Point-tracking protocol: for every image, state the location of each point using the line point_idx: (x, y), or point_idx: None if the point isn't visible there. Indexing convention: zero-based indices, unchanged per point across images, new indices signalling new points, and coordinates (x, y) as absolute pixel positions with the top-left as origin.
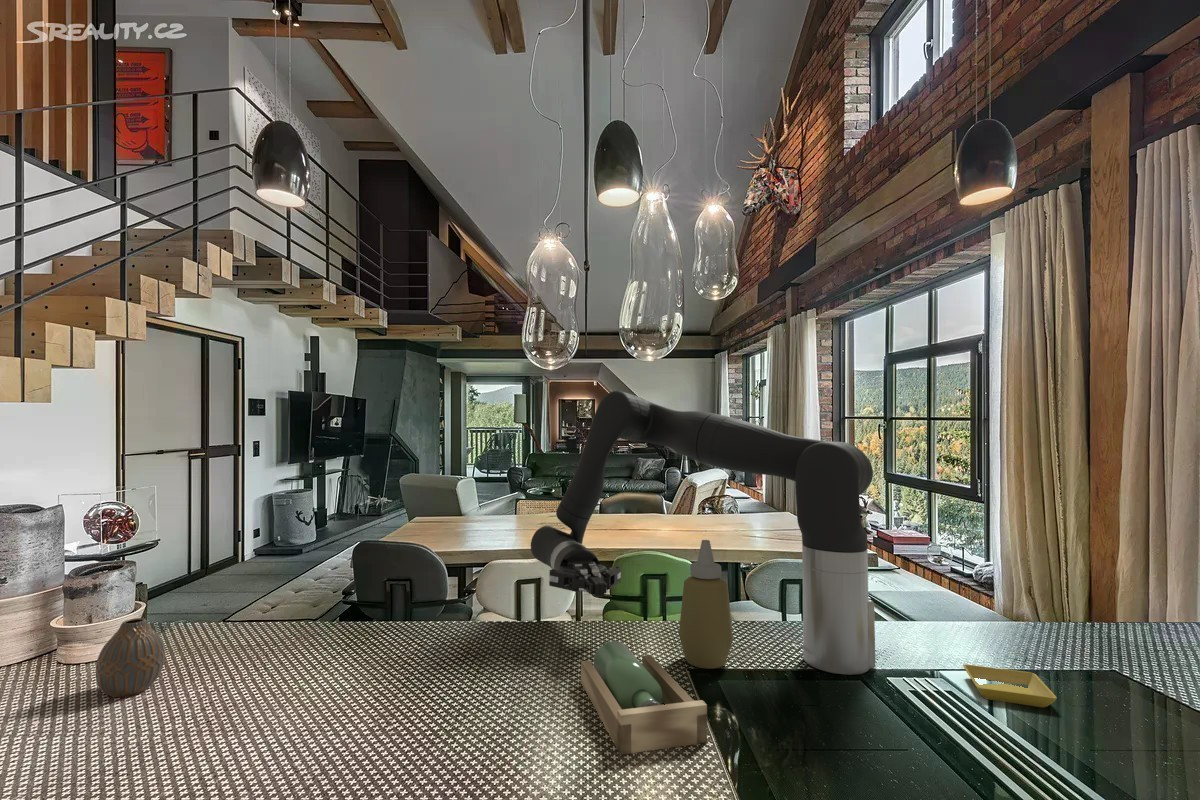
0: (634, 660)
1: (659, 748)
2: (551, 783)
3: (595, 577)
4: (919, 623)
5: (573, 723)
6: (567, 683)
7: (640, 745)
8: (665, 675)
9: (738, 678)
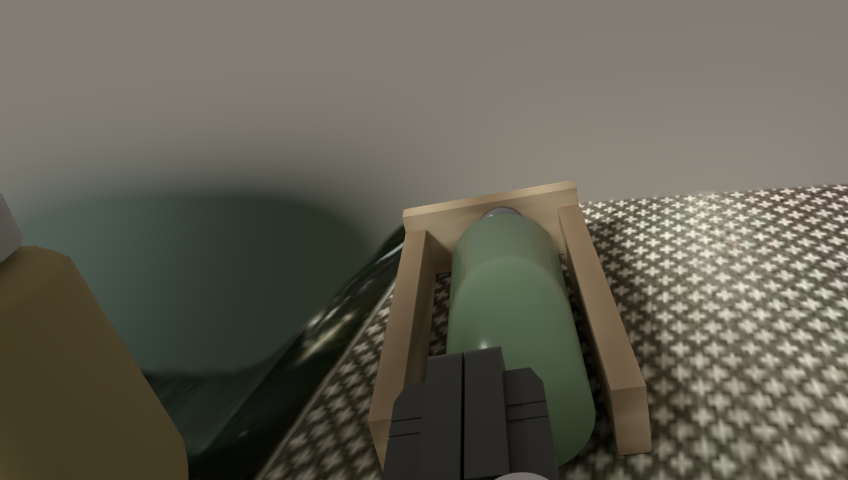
0: (480, 266)
1: None
2: (702, 200)
3: (448, 463)
4: None
5: (672, 299)
6: (706, 462)
7: None
8: (400, 316)
9: None
